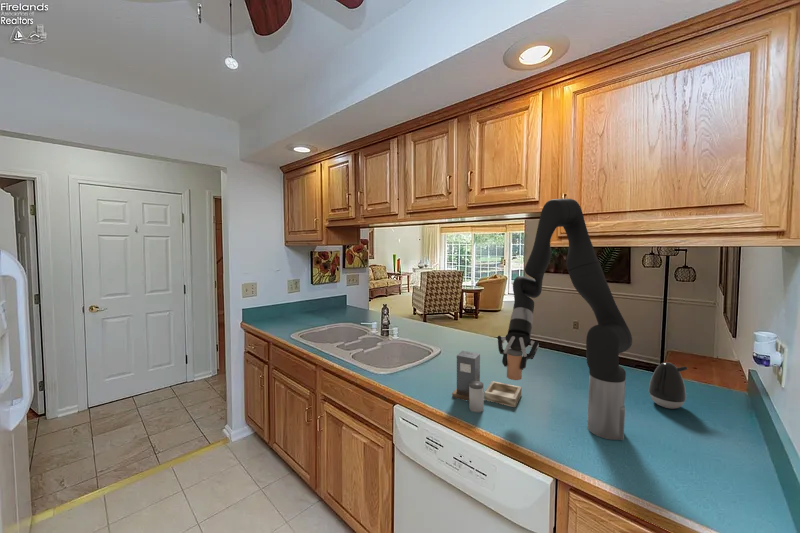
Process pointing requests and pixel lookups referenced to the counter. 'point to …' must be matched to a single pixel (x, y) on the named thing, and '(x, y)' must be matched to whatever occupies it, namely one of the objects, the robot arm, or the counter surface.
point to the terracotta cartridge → (514, 364)
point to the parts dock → (503, 393)
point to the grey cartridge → (476, 396)
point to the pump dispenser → (668, 386)
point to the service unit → (466, 373)
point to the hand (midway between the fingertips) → (513, 367)
